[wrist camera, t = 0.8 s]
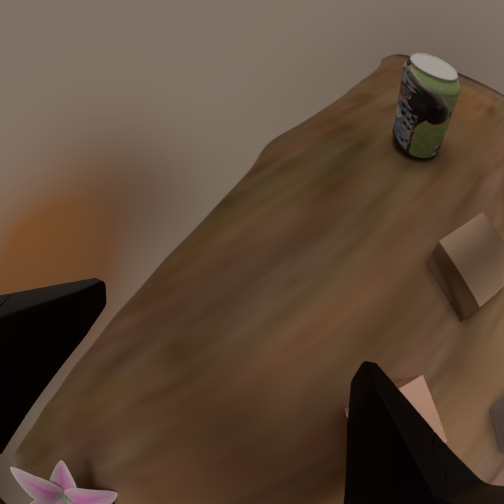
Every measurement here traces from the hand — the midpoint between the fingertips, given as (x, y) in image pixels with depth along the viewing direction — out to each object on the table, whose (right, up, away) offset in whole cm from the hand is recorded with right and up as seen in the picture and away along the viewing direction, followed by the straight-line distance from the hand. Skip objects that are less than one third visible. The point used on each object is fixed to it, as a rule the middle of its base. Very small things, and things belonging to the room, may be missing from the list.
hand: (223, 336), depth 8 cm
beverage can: (+21, +15, +18) cm, 31 cm away
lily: (-17, -26, +8) cm, 32 cm away
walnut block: (+20, 0, +10) cm, 22 cm away
